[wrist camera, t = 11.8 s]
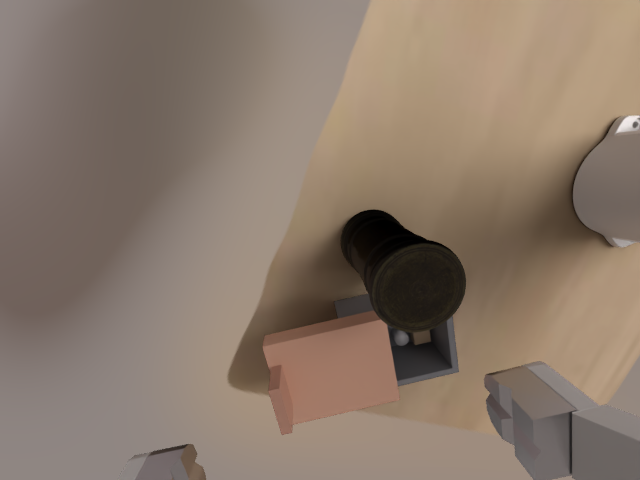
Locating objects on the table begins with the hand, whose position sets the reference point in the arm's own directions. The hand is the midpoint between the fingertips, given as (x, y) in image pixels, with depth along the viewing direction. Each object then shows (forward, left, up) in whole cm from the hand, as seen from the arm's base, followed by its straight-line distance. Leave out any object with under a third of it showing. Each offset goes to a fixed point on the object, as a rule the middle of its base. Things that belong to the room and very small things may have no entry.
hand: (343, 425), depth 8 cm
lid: (+1, +18, -27) cm, 33 cm away
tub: (-8, +18, -34) cm, 39 cm away
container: (-8, +5, -34) cm, 36 cm away
